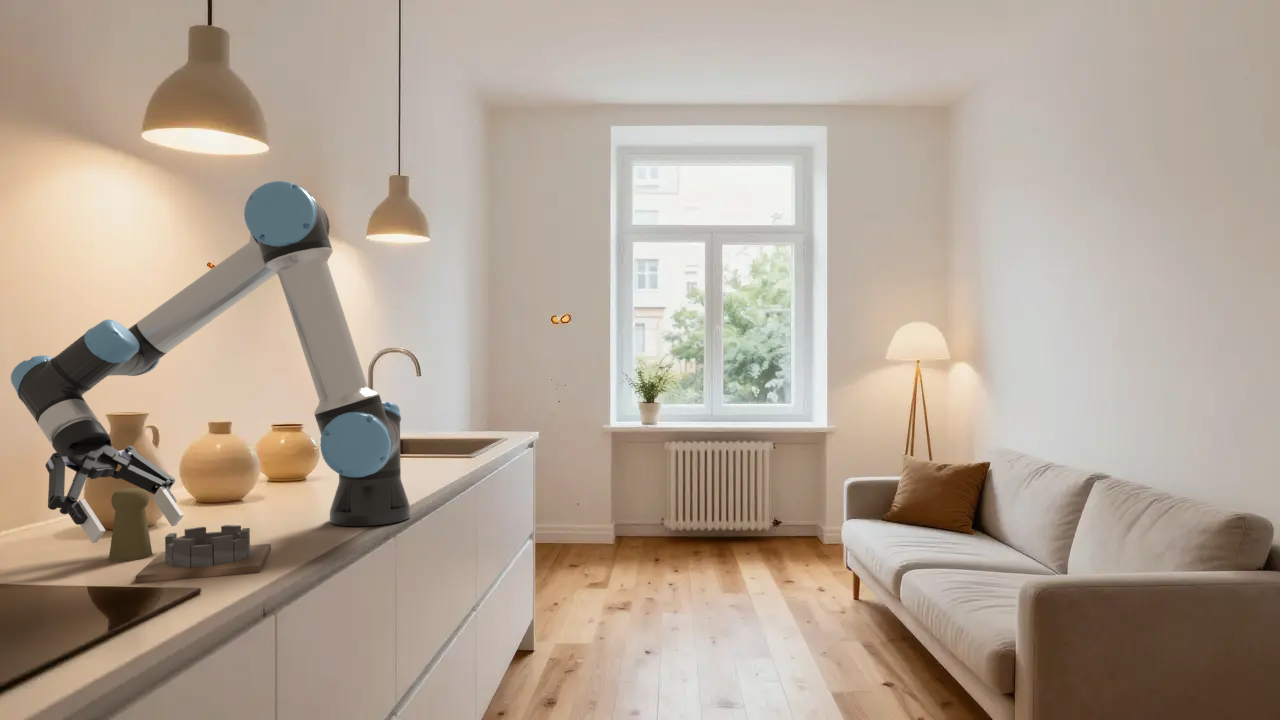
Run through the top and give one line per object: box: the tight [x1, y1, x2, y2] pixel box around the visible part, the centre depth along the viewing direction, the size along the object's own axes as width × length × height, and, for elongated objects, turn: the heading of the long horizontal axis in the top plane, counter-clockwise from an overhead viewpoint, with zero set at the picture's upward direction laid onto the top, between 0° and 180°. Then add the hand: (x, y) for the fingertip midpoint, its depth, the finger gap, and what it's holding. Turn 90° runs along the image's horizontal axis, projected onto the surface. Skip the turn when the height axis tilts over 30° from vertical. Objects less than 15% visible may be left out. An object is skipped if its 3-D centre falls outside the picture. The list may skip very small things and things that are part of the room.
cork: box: [108, 487, 153, 562], centre depth 132 cm, size 6×6×11 cm
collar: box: [135, 524, 272, 584], centre depth 126 cm, size 16×16×5 cm
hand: (140, 528), depth 131 cm, fingers open, 13 cm apart
